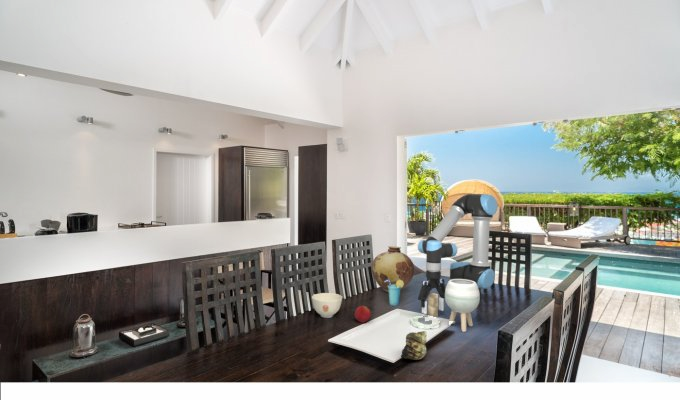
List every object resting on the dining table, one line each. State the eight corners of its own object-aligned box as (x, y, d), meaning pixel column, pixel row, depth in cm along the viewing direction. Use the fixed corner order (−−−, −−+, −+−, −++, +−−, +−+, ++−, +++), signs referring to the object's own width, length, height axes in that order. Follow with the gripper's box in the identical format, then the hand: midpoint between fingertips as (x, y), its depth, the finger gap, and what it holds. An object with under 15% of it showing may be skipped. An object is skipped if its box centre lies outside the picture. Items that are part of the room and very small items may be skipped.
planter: (479, 324, 194) (479, 279, 193) (479, 335, 179) (480, 286, 178) (445, 320, 199) (446, 276, 199) (442, 331, 184) (443, 283, 183)
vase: (384, 285, 274) (385, 242, 274) (420, 291, 258) (421, 246, 258) (362, 293, 251) (363, 246, 251) (401, 300, 235) (401, 251, 235)
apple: (360, 325, 190) (360, 309, 190) (352, 320, 197) (352, 304, 197) (373, 323, 194) (373, 307, 193) (364, 318, 201) (365, 303, 201)
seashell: (395, 352, 158) (395, 328, 158) (423, 352, 159) (423, 327, 159) (401, 364, 148) (402, 337, 147) (431, 363, 149) (431, 337, 148)
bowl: (347, 313, 208) (347, 295, 208) (333, 322, 194) (334, 302, 194) (320, 309, 215) (320, 291, 215) (305, 318, 200) (306, 298, 200)
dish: (425, 318, 203) (425, 313, 203) (445, 326, 191) (445, 320, 191) (404, 322, 195) (404, 317, 195) (424, 331, 183) (424, 325, 183)
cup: (388, 308, 220) (388, 281, 220) (379, 304, 226) (379, 278, 226) (406, 304, 228) (406, 278, 227) (397, 301, 234) (397, 276, 234)
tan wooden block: (432, 315, 208) (433, 292, 207) (437, 317, 205) (437, 294, 204) (427, 316, 206) (428, 293, 206) (432, 318, 203) (433, 295, 203)
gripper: (444, 267, 214) (443, 306, 214) (411, 271, 202) (410, 313, 202) (454, 269, 208) (454, 310, 208) (421, 273, 195) (420, 317, 196)
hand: (432, 311), depth 205 cm, fingers open, 11 cm apart
